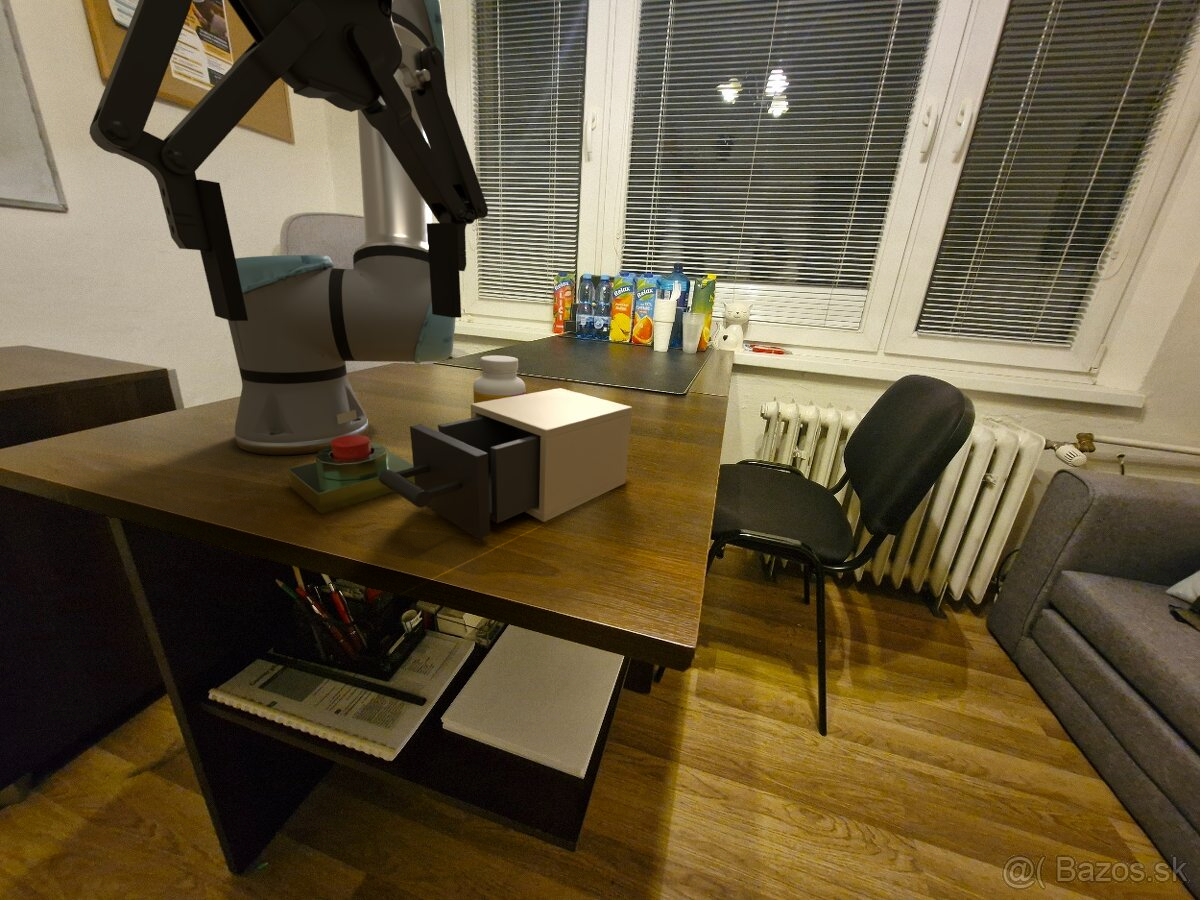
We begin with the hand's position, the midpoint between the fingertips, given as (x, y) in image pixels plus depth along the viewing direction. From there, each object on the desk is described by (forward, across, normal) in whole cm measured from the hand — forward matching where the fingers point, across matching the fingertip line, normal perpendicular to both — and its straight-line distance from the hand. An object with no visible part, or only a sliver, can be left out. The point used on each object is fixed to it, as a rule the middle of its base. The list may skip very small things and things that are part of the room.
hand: (358, 317), depth 29 cm
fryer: (+19, +20, 0) cm, 28 cm away
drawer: (+18, +10, +1) cm, 21 cm away
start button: (+16, +5, +15) cm, 22 cm away
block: (+19, +5, +15) cm, 25 cm away
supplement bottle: (+20, +23, +12) cm, 32 cm away
